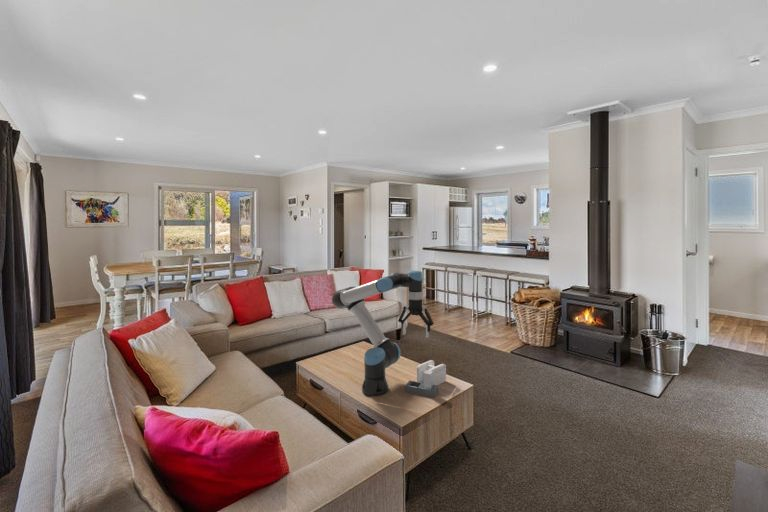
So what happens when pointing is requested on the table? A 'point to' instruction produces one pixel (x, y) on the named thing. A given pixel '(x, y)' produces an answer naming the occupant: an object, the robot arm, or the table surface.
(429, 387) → the plug
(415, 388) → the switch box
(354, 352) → the table surface
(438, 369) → the cable organizer
